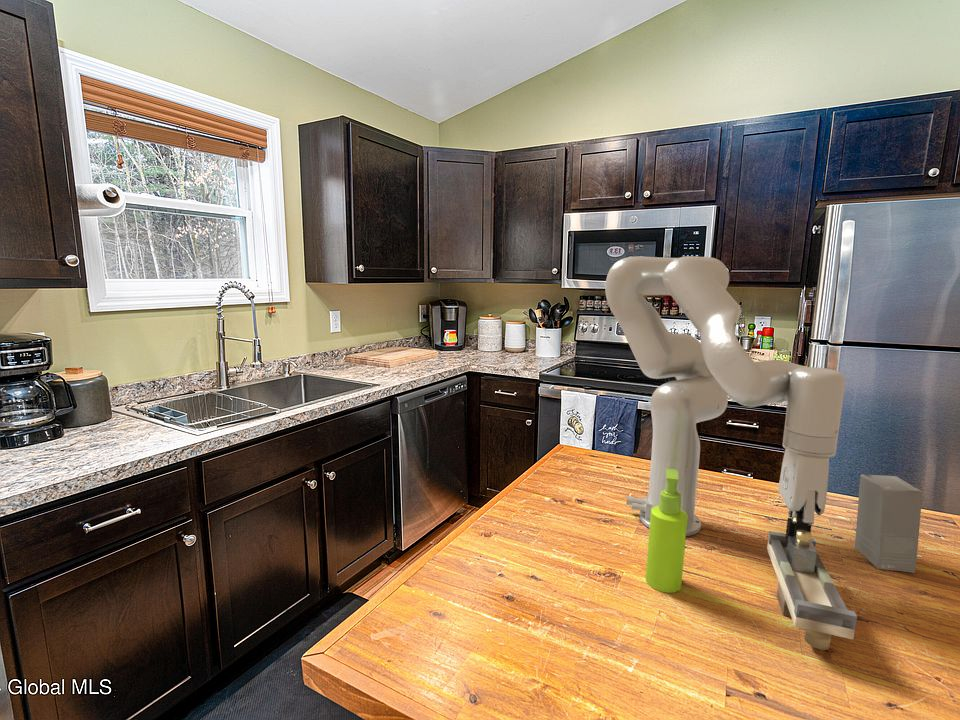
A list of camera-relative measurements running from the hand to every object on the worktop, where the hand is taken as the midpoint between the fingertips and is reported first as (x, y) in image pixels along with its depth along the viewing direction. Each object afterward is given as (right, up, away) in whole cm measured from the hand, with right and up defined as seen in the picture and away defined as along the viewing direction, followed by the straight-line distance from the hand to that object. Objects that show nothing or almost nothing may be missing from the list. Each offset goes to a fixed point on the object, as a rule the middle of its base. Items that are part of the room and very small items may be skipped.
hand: (796, 542), depth 86 cm
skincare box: (+22, -7, +9) cm, 25 cm away
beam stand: (-3, -9, -6) cm, 11 cm away
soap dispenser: (-23, -7, +2) cm, 24 cm away
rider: (-2, -3, -3) cm, 4 cm away
